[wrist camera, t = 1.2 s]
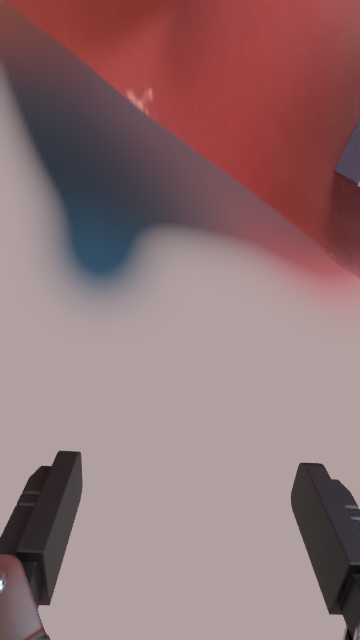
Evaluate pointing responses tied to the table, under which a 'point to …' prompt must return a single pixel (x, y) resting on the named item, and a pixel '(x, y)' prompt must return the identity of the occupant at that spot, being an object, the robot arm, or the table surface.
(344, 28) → the table surface
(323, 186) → the table surface
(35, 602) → the robot arm
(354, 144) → the snack box
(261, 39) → the table surface
